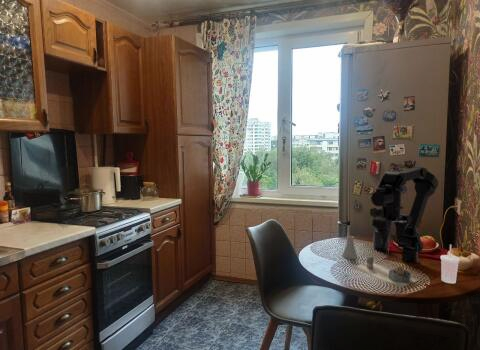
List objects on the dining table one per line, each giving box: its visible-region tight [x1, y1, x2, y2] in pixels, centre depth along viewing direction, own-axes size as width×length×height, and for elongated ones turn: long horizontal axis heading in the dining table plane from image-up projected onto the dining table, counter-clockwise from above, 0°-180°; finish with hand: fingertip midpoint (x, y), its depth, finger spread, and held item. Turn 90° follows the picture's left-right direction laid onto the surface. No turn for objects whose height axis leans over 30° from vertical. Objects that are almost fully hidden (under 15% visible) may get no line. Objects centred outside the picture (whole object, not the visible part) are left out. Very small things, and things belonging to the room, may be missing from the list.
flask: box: [341, 235, 358, 260], centre depth 149 cm, size 7×7×10 cm
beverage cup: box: [439, 244, 461, 284], centre depth 125 cm, size 6×6×14 cm
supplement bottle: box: [372, 228, 390, 253], centre depth 160 cm, size 7×7×12 cm
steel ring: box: [389, 268, 412, 283], centre depth 125 cm, size 7×7×2 cm
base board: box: [350, 255, 421, 288], centre depth 130 cm, size 12×22×6 cm, turn 32°
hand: (391, 241), depth 136 cm, fingers open, 9 cm apart
